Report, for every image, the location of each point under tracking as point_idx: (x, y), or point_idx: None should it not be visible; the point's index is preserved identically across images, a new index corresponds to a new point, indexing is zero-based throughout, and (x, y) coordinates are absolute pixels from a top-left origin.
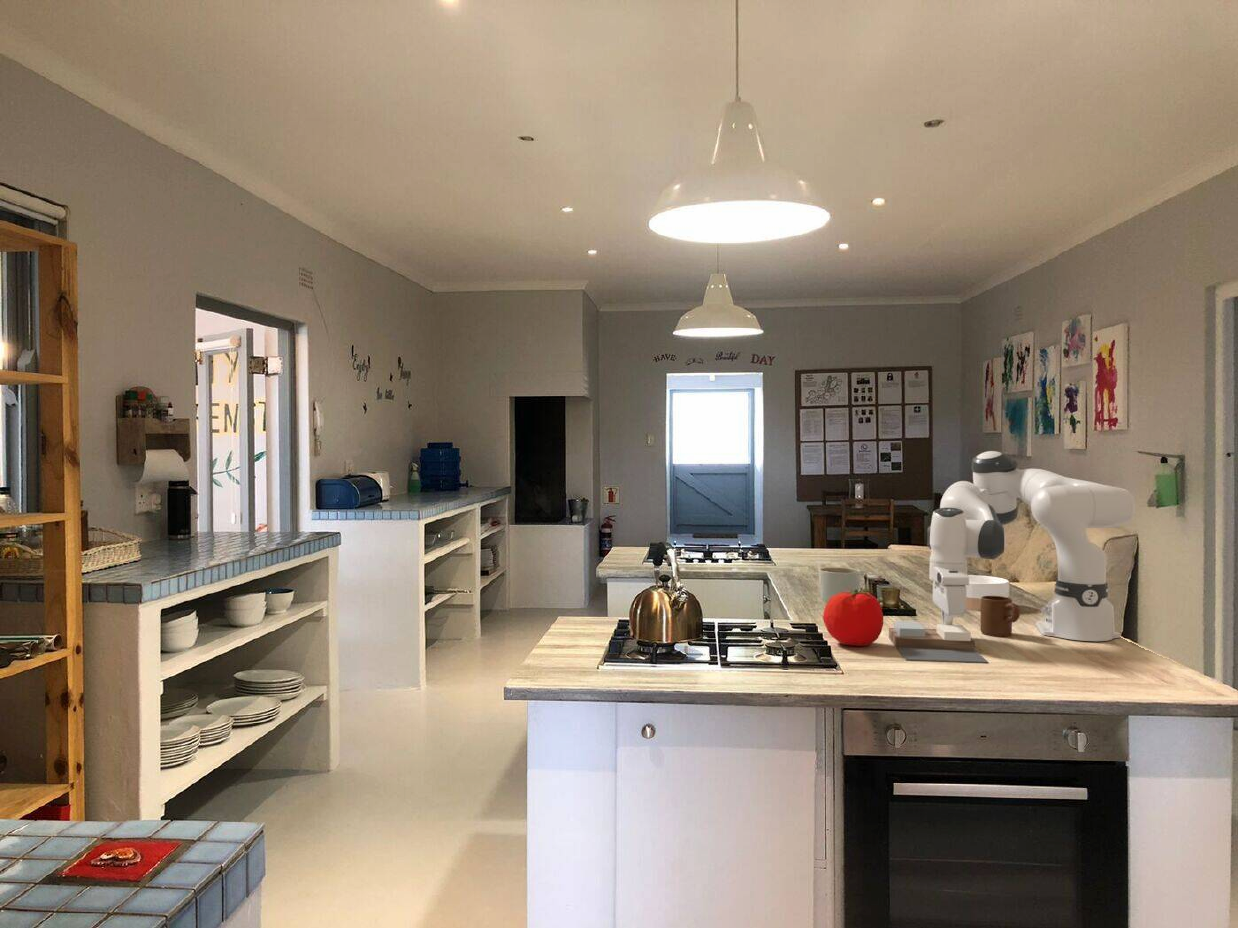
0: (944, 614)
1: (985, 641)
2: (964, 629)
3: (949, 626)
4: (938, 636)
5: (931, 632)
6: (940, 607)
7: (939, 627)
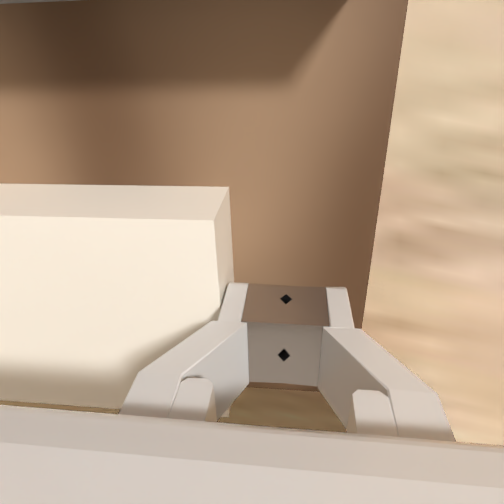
0: (194, 382)
1: (314, 429)
2: (41, 389)
3: (129, 316)
4: (33, 162)
5: (207, 132)
6: (260, 443)
7: (60, 214)
